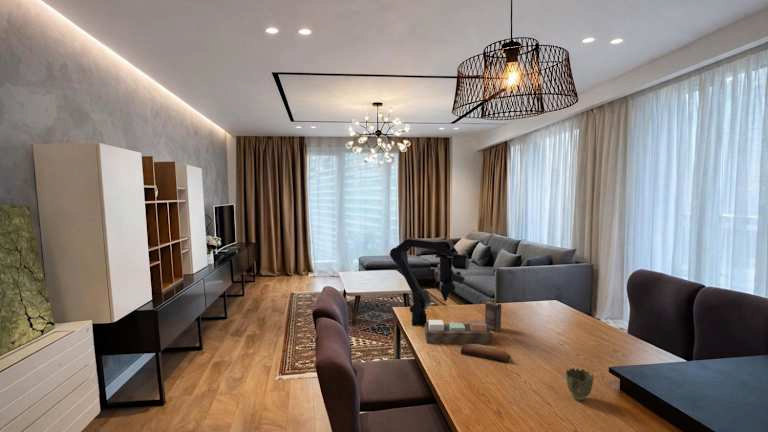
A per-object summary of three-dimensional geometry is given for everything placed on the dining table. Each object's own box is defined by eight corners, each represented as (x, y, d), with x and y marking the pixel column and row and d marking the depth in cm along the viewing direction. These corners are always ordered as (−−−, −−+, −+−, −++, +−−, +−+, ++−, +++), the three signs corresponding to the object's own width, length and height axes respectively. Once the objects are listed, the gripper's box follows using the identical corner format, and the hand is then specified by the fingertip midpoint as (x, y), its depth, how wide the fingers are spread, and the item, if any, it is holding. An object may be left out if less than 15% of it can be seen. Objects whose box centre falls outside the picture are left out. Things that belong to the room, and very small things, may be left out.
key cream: (429, 335, 156) (429, 324, 156) (428, 329, 162) (428, 319, 162) (443, 335, 156) (443, 324, 156) (442, 329, 162) (442, 319, 162)
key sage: (450, 338, 156) (451, 327, 156) (448, 332, 162) (449, 322, 162) (465, 338, 156) (465, 327, 155) (462, 332, 162) (462, 322, 161)
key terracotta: (472, 335, 156) (472, 325, 155) (469, 330, 162) (469, 320, 161) (486, 335, 155) (486, 325, 155) (483, 330, 161) (483, 320, 161)
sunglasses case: (511, 354, 143) (510, 343, 140) (509, 369, 138) (508, 358, 134) (465, 346, 151) (463, 335, 148) (461, 360, 146) (459, 349, 142)
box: (501, 329, 169) (501, 303, 169) (495, 331, 167) (496, 305, 166) (490, 325, 174) (490, 300, 173) (484, 328, 171) (484, 302, 170)
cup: (560, 392, 115) (561, 368, 115) (582, 391, 116) (583, 367, 116) (574, 406, 108) (575, 380, 107) (598, 405, 109) (599, 378, 108)
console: (426, 343, 154) (426, 332, 154) (424, 333, 165) (424, 323, 164) (491, 343, 153) (491, 333, 153) (485, 334, 164) (485, 324, 164)
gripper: (467, 272, 159) (466, 307, 160) (460, 263, 178) (459, 295, 179) (441, 271, 160) (440, 307, 161) (437, 263, 179) (436, 295, 180)
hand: (445, 300), depth 170 cm, fingers closed
